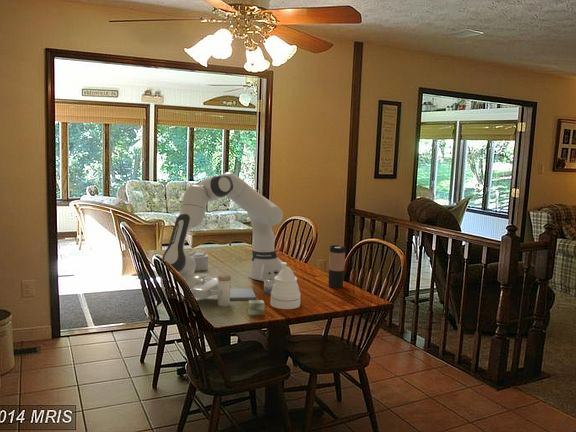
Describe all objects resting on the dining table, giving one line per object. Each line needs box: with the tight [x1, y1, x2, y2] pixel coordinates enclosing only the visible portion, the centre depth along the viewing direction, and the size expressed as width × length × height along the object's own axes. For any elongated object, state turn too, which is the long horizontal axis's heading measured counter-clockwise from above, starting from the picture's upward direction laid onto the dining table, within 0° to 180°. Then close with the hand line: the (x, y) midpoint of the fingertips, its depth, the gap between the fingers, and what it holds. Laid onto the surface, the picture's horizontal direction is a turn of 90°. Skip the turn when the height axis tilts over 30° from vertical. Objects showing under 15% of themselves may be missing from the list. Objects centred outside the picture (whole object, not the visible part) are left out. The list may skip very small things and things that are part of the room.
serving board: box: [230, 287, 257, 301], centre depth 230 cm, size 16×14×1 cm
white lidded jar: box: [217, 274, 232, 307], centre depth 216 cm, size 5×5×12 cm
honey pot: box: [270, 261, 302, 310], centre depth 219 cm, size 13×13×18 cm
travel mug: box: [327, 244, 346, 289], centre depth 250 cm, size 8×8×20 cm
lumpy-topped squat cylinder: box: [187, 250, 209, 271], centre depth 278 cm, size 10×13×9 cm
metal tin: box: [263, 278, 276, 295], centre depth 236 cm, size 6×6×6 cm
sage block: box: [247, 299, 265, 316], centre depth 206 cm, size 6×4×5 cm, turn 101°
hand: (225, 289), depth 215 cm, fingers open, 8 cm apart
